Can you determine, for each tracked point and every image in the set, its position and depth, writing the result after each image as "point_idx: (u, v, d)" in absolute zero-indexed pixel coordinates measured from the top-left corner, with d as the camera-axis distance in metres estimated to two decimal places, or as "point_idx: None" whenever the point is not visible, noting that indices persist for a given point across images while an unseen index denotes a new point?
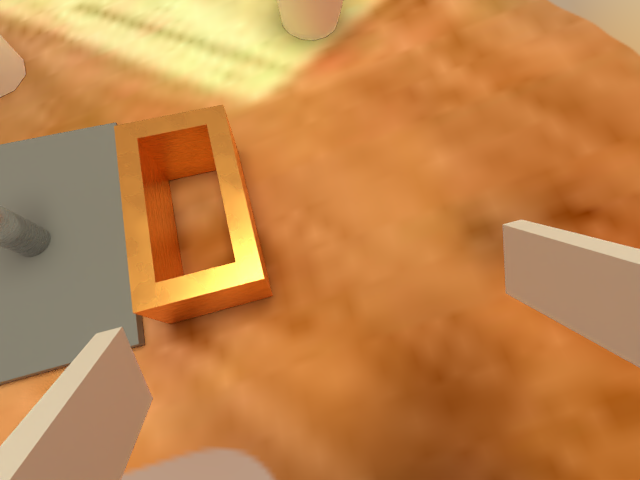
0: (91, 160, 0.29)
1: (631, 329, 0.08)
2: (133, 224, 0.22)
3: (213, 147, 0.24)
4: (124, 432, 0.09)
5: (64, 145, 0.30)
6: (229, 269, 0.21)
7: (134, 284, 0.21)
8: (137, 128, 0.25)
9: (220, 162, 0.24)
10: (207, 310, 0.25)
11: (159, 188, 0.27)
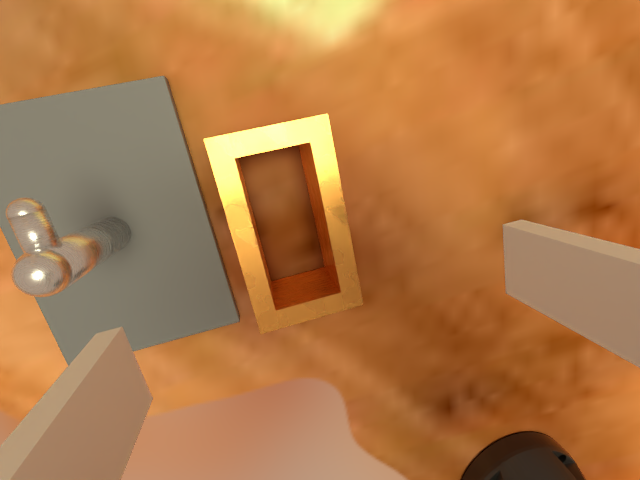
0: (147, 133, 0.25)
1: (631, 329, 0.08)
2: (247, 259, 0.23)
3: (318, 173, 0.23)
4: (123, 432, 0.09)
5: (105, 109, 0.24)
6: (336, 298, 0.25)
7: (257, 312, 0.24)
8: (232, 144, 0.21)
9: (325, 192, 0.23)
10: None
11: (245, 189, 0.25)
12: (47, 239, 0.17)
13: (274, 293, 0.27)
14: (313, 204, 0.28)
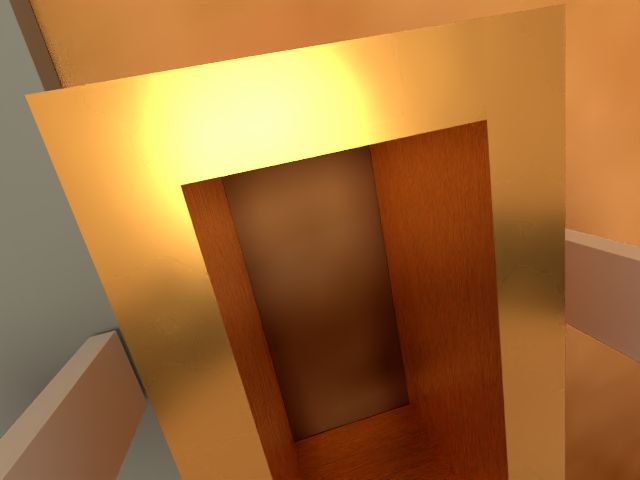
0: None
1: None
2: None
3: (500, 237, 0.06)
4: (116, 438, 0.09)
5: None
6: None
7: None
8: (169, 123, 0.05)
9: (514, 300, 0.07)
10: None
11: (234, 266, 0.09)
12: None
13: None
14: (404, 285, 0.11)
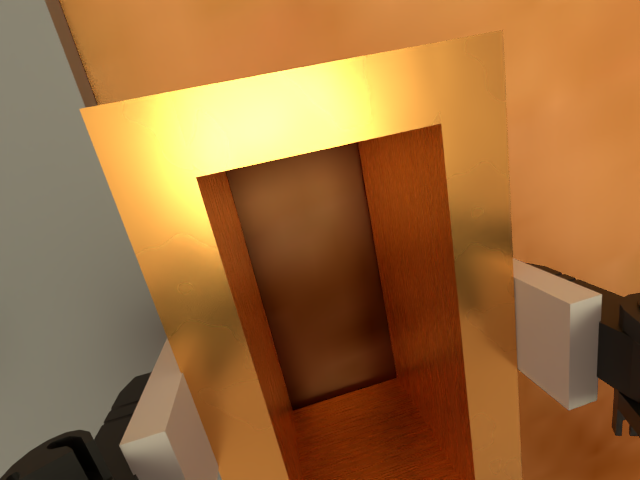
0: None
1: None
2: (243, 462, 0.08)
3: (455, 220, 0.08)
4: None
5: None
6: None
7: None
8: (187, 129, 0.06)
9: (469, 272, 0.08)
10: None
11: (238, 248, 0.10)
12: None
13: (304, 466, 0.12)
14: (389, 267, 0.13)
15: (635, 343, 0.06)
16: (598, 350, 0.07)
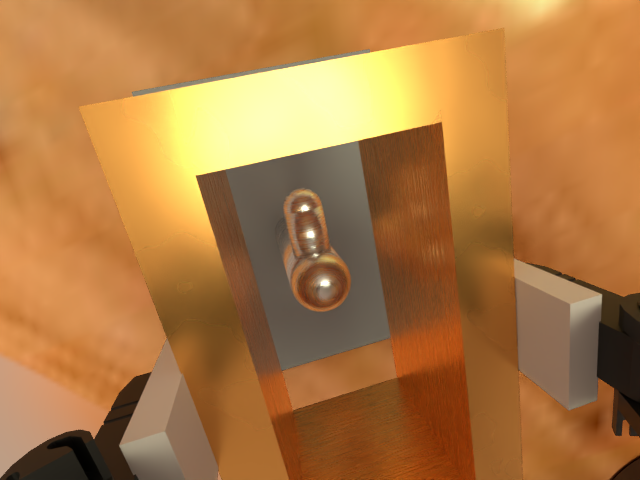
0: None
1: None
2: (243, 462, 0.08)
3: (456, 219, 0.08)
4: None
5: None
6: None
7: None
8: (187, 127, 0.06)
9: (470, 271, 0.08)
10: None
11: (238, 247, 0.10)
12: (326, 240, 0.14)
13: (304, 466, 0.12)
14: (389, 267, 0.13)
15: (635, 343, 0.06)
16: (598, 350, 0.07)
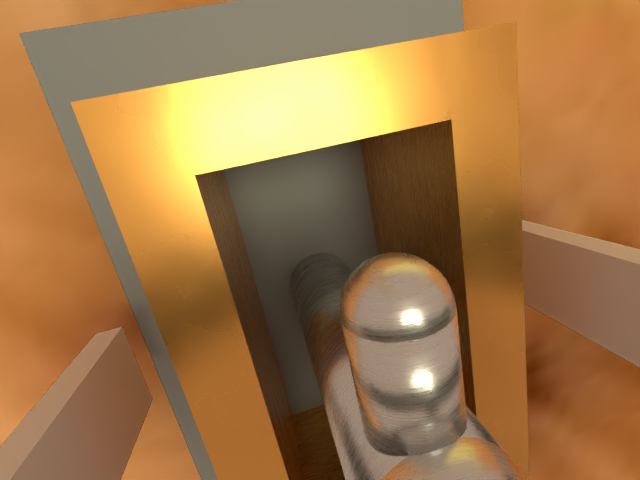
0: None
1: (631, 329, 0.08)
2: (244, 472, 0.08)
3: (465, 220, 0.07)
4: (123, 432, 0.09)
5: (342, 34, 0.11)
6: None
7: None
8: (186, 124, 0.06)
9: (479, 274, 0.08)
10: None
11: (237, 249, 0.10)
12: (464, 400, 0.05)
13: (305, 472, 0.12)
14: None
15: None
16: None
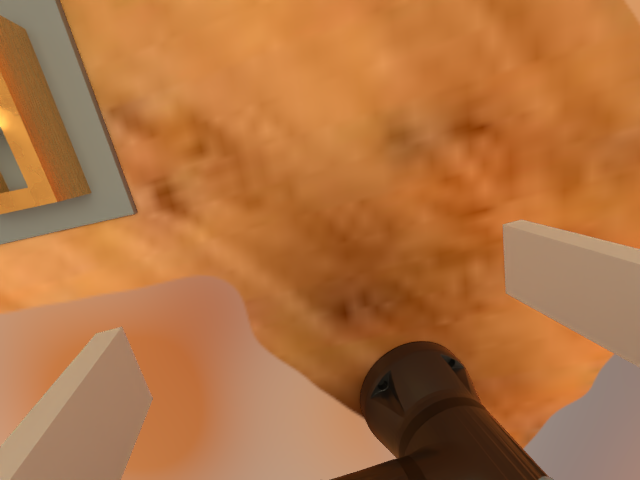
0: (35, 32, 0.28)
1: (631, 329, 0.08)
2: None
3: None
4: (123, 432, 0.09)
5: None
6: (23, 193, 0.26)
7: None
8: None
9: None
10: None
11: None
12: None
13: None
14: None
15: None
16: None
